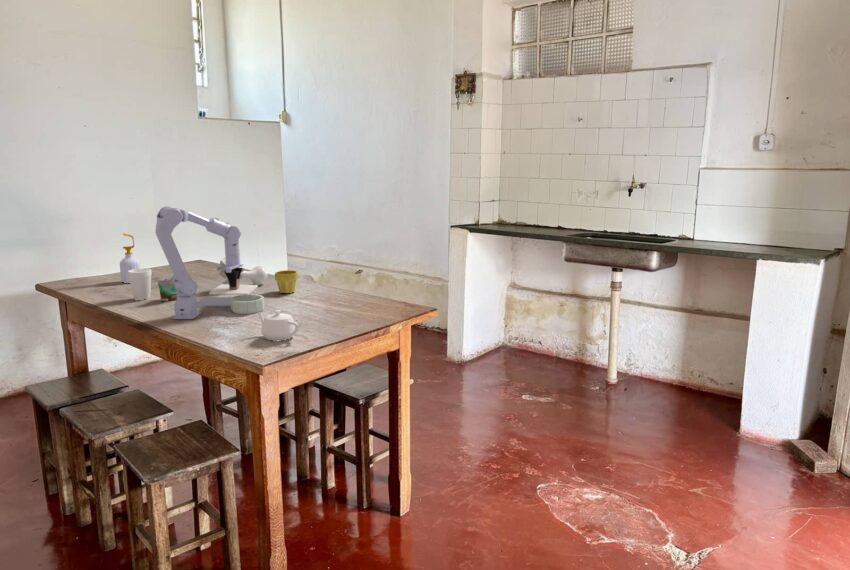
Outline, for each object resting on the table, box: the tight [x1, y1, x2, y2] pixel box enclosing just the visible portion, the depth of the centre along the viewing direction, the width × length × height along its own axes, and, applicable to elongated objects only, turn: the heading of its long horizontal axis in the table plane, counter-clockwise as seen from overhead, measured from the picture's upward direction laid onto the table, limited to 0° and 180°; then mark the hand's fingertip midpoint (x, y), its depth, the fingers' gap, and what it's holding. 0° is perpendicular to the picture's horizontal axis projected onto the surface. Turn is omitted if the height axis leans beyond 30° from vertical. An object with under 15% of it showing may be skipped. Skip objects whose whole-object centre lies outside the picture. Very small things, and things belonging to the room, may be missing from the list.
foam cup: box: [128, 268, 153, 301], centre depth 276 cm, size 10×9×13 cm
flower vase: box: [216, 257, 269, 286], centre depth 297 cm, size 13×18×25 cm
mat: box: [196, 296, 232, 309], centre depth 270 cm, size 18×18×1 cm
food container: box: [157, 277, 177, 303], centre depth 274 cm, size 12×6×10 cm, turn 168°
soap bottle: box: [119, 232, 141, 284], centre depth 309 cm, size 9×9×25 cm
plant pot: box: [274, 269, 298, 294], centre depth 289 cm, size 10×10×10 cm
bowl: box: [230, 293, 266, 315], centre depth 257 cm, size 13×13×6 cm
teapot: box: [257, 309, 300, 341], centre depth 221 cm, size 20×12×10 cm, turn 58°
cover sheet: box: [208, 279, 259, 296], centre depth 260 cm, size 16×16×5 cm
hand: (234, 286), depth 261 cm, fingers closed on cover sheet, 3 cm apart
